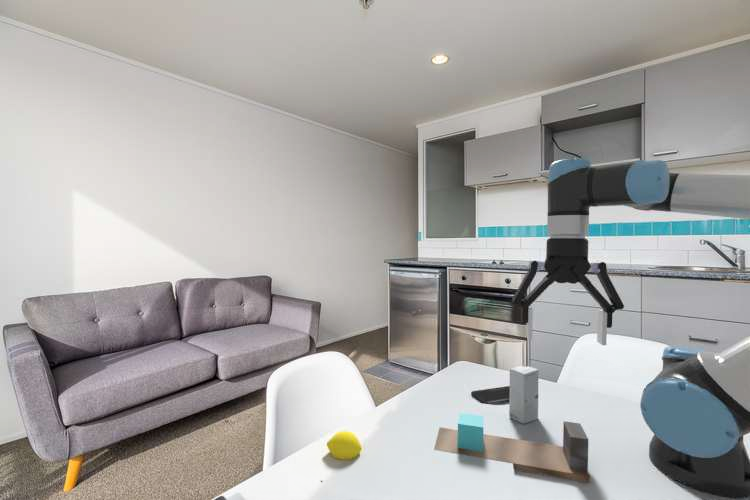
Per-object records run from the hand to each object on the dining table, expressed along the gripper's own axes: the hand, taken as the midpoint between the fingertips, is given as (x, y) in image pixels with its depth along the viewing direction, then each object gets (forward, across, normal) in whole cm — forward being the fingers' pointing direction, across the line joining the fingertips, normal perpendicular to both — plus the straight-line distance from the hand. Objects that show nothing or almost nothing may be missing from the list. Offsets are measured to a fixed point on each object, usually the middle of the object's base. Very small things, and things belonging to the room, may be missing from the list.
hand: (564, 341), depth 74 cm
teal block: (+22, +18, +4) cm, 29 cm away
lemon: (+24, +43, +13) cm, 51 cm away
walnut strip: (+23, +11, +4) cm, 26 cm away
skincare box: (+24, +5, -14) cm, 28 cm away
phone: (+24, +10, -25) cm, 36 cm away
